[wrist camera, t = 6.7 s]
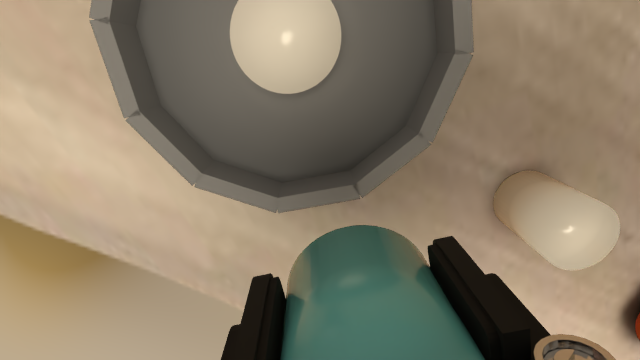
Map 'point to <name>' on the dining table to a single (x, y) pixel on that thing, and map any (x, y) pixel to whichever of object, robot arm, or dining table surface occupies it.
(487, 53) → the dining table surface
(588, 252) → the cream bead
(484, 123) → the dining table surface
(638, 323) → the fruit
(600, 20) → the dining table surface
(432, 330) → the teal bead
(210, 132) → the ring dish
